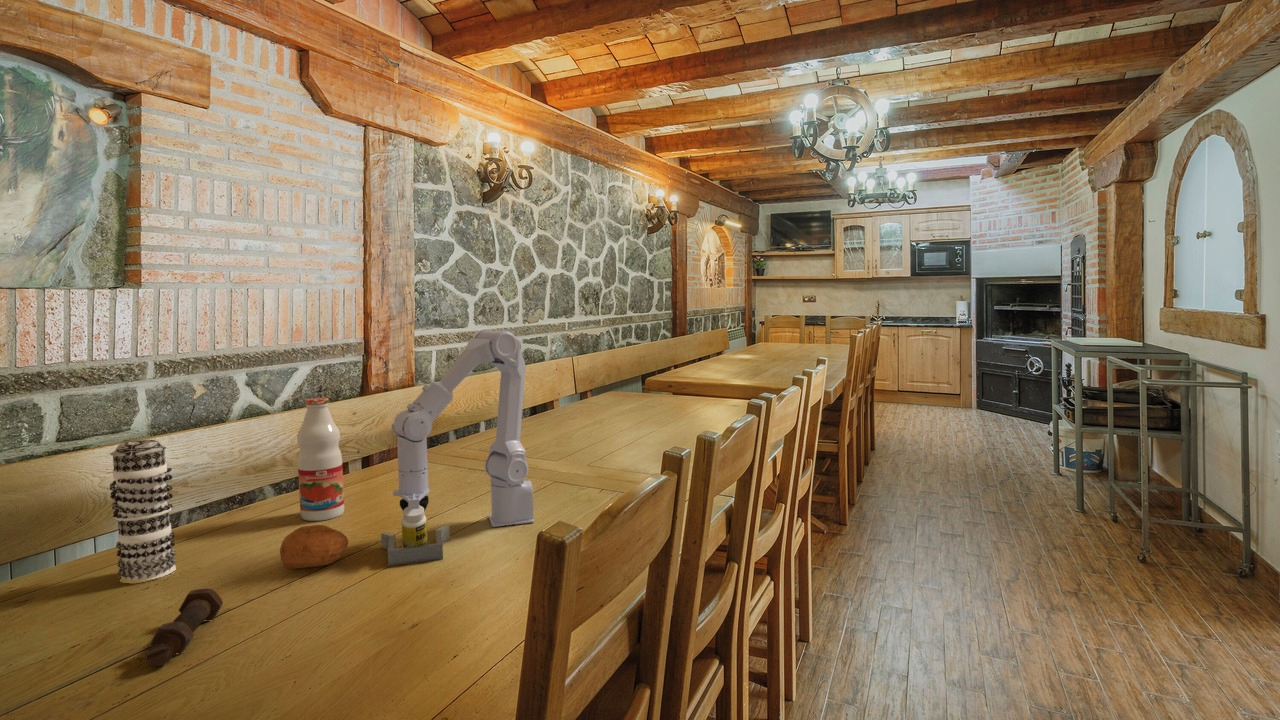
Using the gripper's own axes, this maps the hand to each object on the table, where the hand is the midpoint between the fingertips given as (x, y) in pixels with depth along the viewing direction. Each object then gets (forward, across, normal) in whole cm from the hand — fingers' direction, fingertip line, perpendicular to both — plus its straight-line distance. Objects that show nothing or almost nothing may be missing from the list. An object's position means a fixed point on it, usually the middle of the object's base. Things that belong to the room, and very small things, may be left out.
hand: (415, 532), depth 132 cm
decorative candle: (+3, -1, -47) cm, 47 cm away
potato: (+3, +5, -18) cm, 19 cm away
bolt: (+3, +29, -33) cm, 44 cm away
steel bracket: (+2, +4, 0) cm, 5 cm away
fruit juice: (+3, -27, -21) cm, 35 cm away
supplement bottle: (+2, +2, 0) cm, 3 cm away
